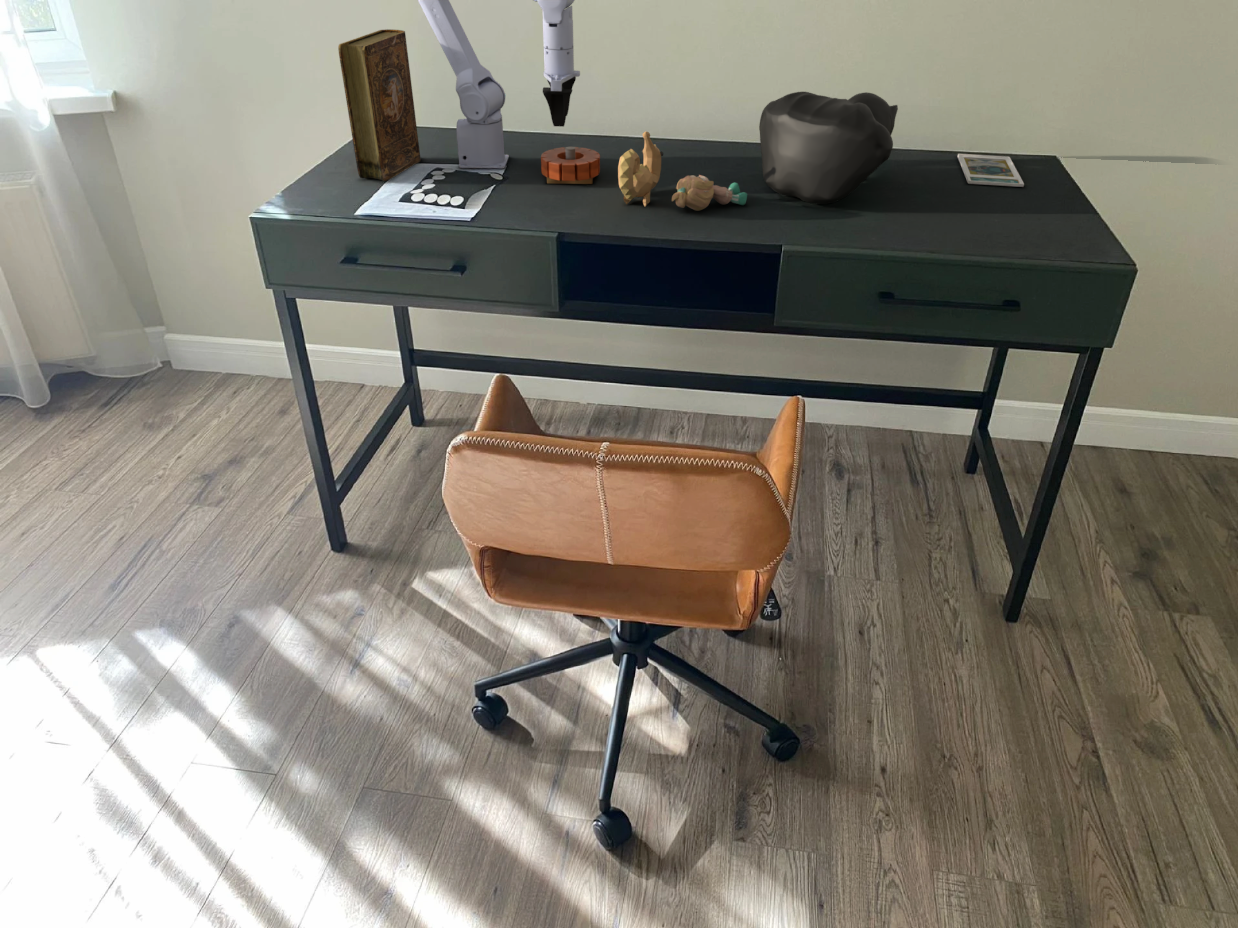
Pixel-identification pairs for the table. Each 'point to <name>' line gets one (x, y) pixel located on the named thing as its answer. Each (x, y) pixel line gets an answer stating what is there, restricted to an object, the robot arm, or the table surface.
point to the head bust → (824, 143)
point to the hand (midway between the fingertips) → (560, 120)
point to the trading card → (990, 170)
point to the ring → (570, 164)
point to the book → (380, 103)
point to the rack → (570, 156)
